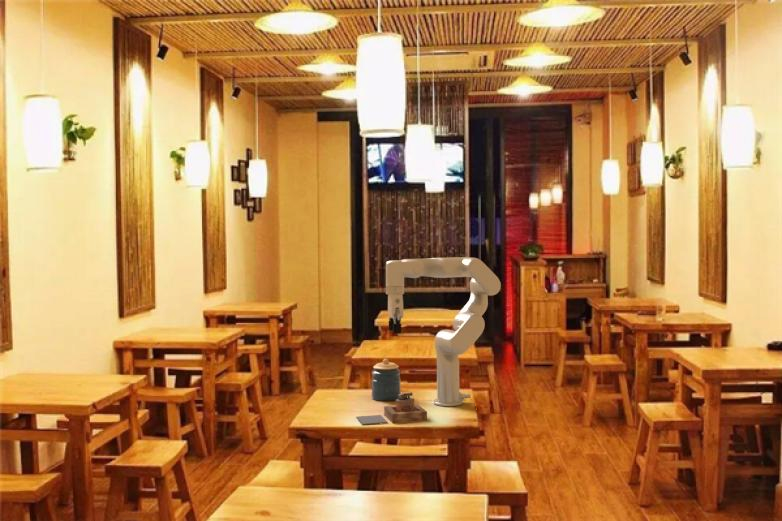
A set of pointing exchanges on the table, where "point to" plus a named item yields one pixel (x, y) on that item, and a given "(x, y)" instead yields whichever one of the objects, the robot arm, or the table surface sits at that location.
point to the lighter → (405, 403)
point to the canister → (386, 381)
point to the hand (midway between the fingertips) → (394, 331)
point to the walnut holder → (405, 414)
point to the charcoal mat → (371, 419)
